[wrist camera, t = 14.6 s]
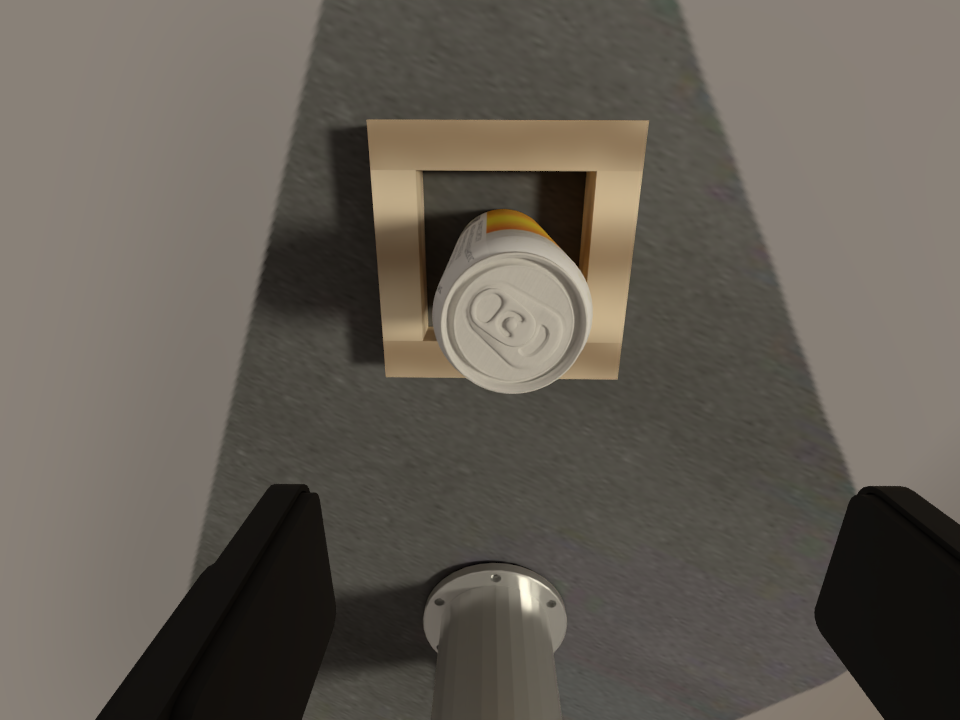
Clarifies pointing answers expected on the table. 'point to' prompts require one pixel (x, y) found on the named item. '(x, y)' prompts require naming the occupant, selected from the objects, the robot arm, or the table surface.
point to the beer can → (511, 305)
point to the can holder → (503, 147)
